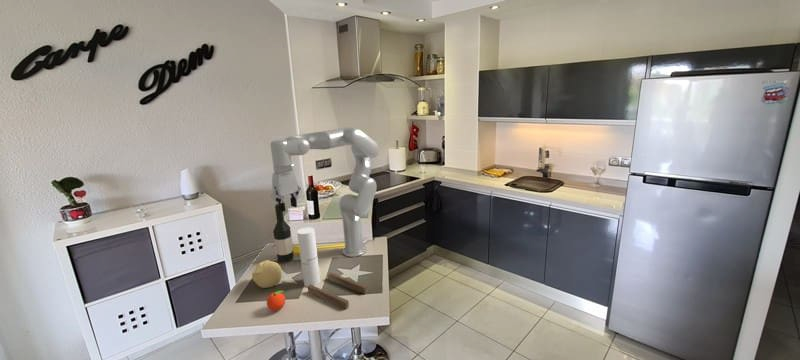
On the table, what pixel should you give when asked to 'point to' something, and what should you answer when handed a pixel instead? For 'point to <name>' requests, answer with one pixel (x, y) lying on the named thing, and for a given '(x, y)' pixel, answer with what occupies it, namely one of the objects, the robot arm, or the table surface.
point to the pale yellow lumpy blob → (267, 274)
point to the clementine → (276, 301)
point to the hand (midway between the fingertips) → (288, 208)
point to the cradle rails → (334, 298)
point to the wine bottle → (283, 238)
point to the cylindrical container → (308, 256)
